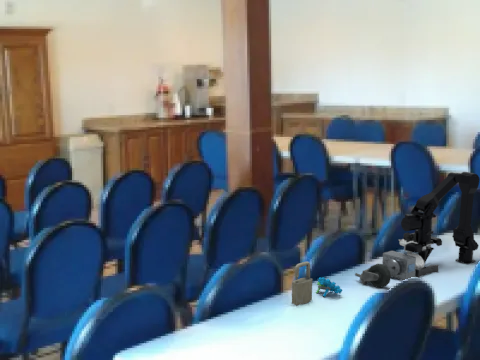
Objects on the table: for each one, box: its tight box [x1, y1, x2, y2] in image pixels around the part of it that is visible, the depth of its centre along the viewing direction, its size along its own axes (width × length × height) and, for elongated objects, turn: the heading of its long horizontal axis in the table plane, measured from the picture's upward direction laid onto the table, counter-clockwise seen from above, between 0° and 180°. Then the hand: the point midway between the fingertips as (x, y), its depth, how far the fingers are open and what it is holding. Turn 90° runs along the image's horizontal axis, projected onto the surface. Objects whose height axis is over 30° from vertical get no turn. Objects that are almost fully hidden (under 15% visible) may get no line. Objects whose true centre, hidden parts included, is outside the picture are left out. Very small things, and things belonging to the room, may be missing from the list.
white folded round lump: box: [409, 252, 426, 269], centre depth 288 cm, size 8×8×8 cm
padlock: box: [291, 261, 313, 306], centre depth 251 cm, size 4×8×15 cm, turn 131°
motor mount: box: [382, 250, 439, 281], centre depth 285 cm, size 23×15×9 cm, turn 130°
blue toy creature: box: [315, 276, 343, 298], centre depth 258 cm, size 11×6×10 cm
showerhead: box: [398, 238, 418, 255], centre depth 312 cm, size 9×7×10 cm
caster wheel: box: [354, 263, 392, 289], centre depth 270 cm, size 6×10×15 cm
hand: (422, 263), depth 292 cm, fingers closed
